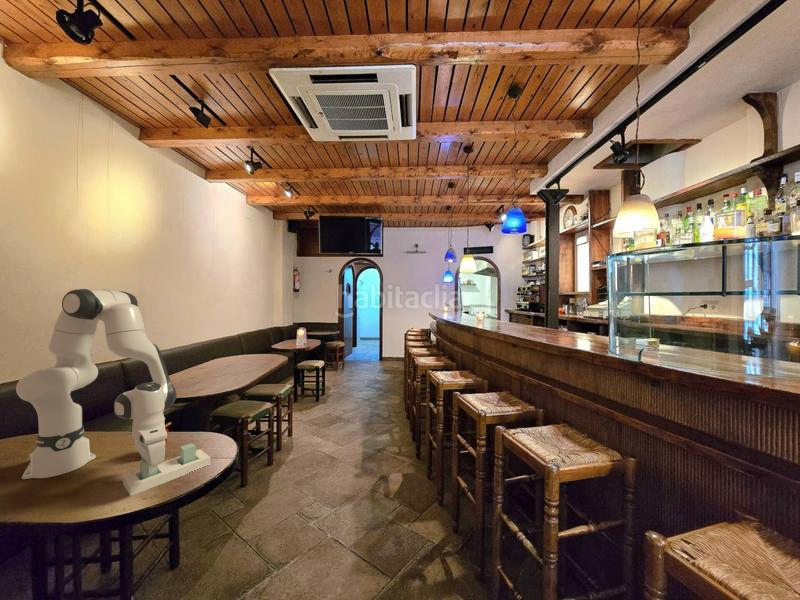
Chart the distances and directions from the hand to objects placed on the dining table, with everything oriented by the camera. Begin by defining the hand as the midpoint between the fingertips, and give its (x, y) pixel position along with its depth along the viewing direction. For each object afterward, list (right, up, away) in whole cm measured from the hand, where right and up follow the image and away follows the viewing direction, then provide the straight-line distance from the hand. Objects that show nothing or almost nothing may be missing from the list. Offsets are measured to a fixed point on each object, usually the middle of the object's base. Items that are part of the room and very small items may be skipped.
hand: (148, 468), depth 109 cm
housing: (+4, -5, +5) cm, 8 cm away
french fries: (-11, -4, +19) cm, 22 cm away
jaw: (0, -5, 0) cm, 5 cm away
